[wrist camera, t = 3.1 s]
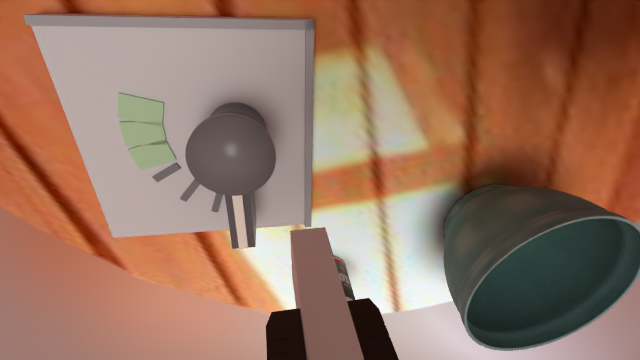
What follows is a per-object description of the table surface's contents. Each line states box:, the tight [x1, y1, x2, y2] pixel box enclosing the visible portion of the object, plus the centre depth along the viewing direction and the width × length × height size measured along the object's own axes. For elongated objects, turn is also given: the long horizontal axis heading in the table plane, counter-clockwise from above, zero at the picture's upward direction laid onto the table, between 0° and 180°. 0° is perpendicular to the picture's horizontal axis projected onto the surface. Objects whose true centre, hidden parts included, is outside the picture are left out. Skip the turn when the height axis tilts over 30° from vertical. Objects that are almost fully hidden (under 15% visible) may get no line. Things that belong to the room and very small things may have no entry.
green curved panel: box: [118, 92, 223, 213], centre depth 26 cm, size 11×9×1 cm
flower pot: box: [444, 184, 640, 351], centre depth 32 cm, size 16×16×11 cm
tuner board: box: [23, 13, 314, 238], centre depth 26 cm, size 18×18×2 cm
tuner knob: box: [185, 102, 276, 249], centre depth 25 cm, size 11×6×5 cm, turn 178°
